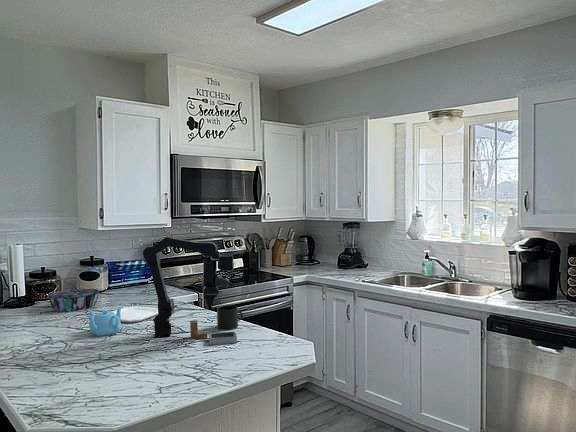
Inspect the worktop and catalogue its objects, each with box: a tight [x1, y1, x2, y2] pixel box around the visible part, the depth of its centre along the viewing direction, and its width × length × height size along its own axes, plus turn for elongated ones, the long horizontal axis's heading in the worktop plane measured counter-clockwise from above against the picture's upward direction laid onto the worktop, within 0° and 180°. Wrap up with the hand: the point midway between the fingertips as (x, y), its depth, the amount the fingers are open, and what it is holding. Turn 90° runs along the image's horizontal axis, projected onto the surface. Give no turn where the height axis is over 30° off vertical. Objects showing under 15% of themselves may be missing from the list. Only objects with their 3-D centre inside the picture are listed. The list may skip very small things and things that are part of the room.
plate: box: [111, 305, 158, 324], centre depth 237 cm, size 25×25×2 cm
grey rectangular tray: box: [208, 331, 238, 346], centre depth 193 cm, size 11×8×2 cm
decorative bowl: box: [47, 288, 101, 313], centre depth 259 cm, size 26×28×10 cm
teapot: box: [86, 305, 123, 337], centre depth 208 cm, size 15×15×10 cm
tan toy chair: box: [189, 320, 208, 340], centre depth 199 cm, size 7×4×7 cm, turn 102°
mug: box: [216, 305, 244, 331], centre depth 214 cm, size 9×12×9 cm
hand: (209, 306), depth 203 cm, fingers open, 9 cm apart
